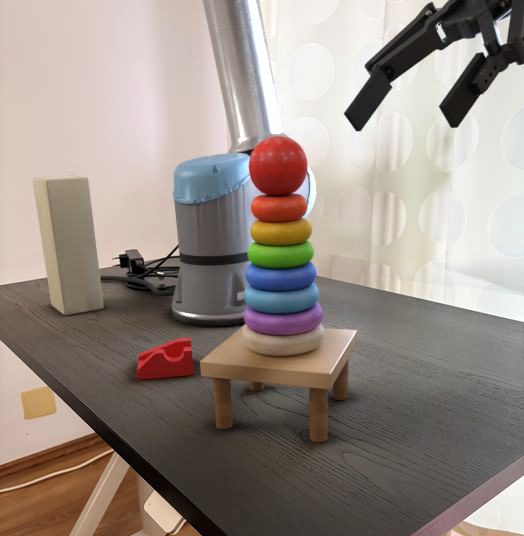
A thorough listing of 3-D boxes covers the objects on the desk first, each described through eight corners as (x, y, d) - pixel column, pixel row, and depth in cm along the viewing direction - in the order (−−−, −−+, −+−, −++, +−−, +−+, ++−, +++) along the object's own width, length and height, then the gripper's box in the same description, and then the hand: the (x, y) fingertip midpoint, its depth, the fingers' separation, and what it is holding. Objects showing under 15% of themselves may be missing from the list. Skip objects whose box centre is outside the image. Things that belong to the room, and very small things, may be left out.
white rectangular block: (109, 307, 97) (92, 176, 90) (65, 316, 93) (43, 179, 86) (93, 298, 103) (76, 174, 96) (51, 305, 100) (30, 177, 92)
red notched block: (192, 360, 73) (190, 337, 72) (193, 374, 68) (191, 350, 67) (140, 364, 72) (137, 341, 71) (137, 379, 67) (134, 355, 66)
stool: (205, 430, 55) (199, 361, 53) (249, 381, 66) (246, 322, 63) (330, 447, 51) (330, 373, 49) (356, 393, 62) (357, 329, 59)
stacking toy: (230, 338, 58) (218, 138, 52) (303, 326, 61) (300, 135, 54) (259, 364, 51) (250, 137, 45) (340, 350, 54) (342, 133, 47)
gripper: (636, -31, 54) (516, 146, 52) (431, 17, 74) (338, 146, 72) (615, -110, 50) (482, 79, 48) (403, -36, 70) (302, 100, 68)
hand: (395, 120), depth 60 cm, fingers open, 13 cm apart
